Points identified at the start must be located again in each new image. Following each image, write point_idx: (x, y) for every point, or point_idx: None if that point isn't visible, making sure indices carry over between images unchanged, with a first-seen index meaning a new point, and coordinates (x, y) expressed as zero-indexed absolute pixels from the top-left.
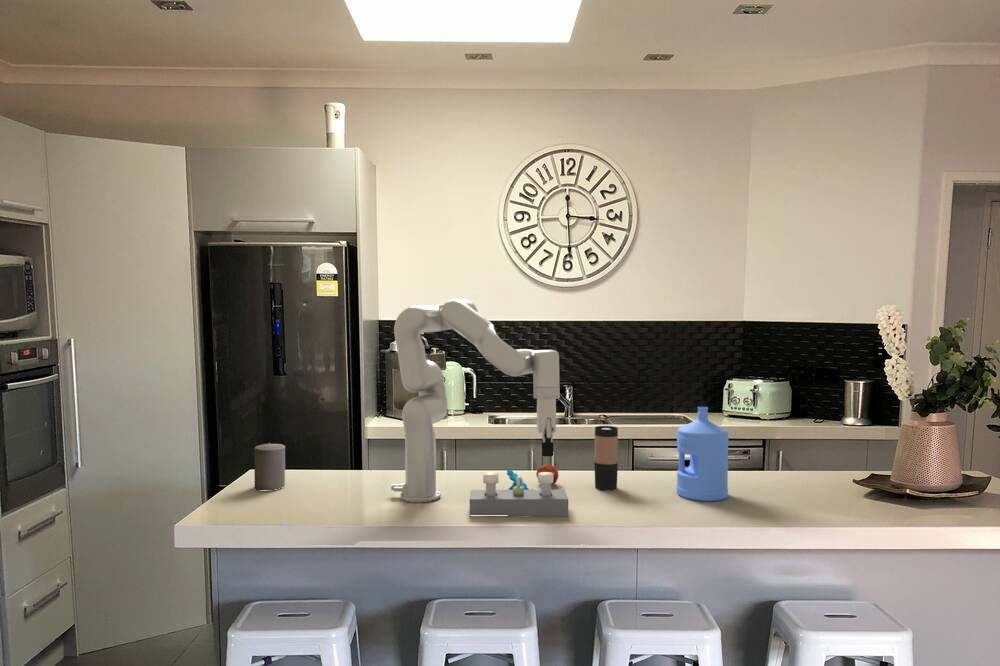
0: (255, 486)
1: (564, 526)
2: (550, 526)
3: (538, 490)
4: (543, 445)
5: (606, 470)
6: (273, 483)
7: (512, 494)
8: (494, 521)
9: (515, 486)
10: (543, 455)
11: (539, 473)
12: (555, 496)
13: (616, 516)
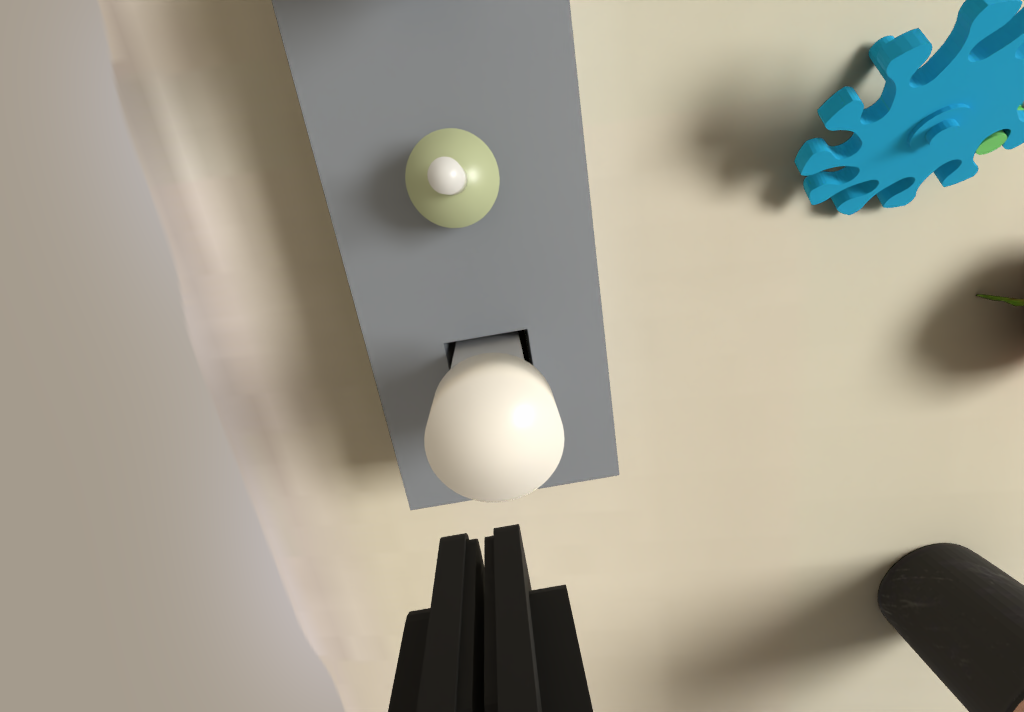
0: None
1: (266, 450)
2: (243, 388)
3: (584, 318)
4: (423, 694)
5: (970, 684)
6: None
7: None
8: (226, 53)
9: (484, 148)
10: (443, 551)
11: (499, 386)
12: None
13: None
